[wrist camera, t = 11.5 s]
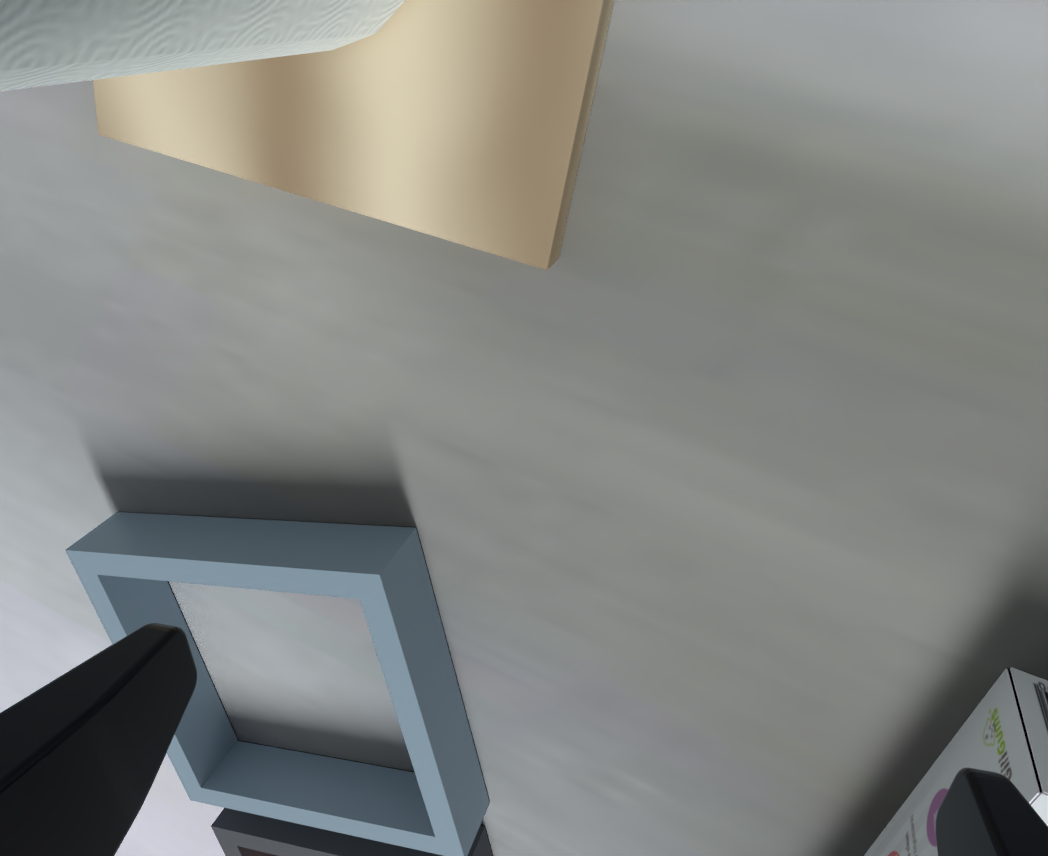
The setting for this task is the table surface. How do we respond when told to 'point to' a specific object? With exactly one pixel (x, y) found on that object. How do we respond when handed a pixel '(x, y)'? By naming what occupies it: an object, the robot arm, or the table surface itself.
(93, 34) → the paper towel roll
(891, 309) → the table surface
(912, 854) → the box
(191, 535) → the blue square frame
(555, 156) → the wooden pad
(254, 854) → the tray
